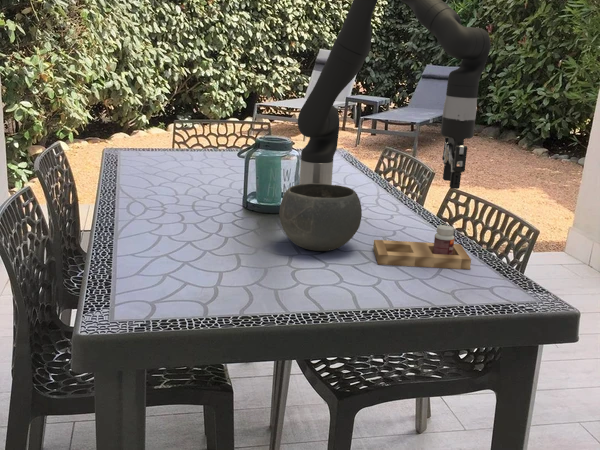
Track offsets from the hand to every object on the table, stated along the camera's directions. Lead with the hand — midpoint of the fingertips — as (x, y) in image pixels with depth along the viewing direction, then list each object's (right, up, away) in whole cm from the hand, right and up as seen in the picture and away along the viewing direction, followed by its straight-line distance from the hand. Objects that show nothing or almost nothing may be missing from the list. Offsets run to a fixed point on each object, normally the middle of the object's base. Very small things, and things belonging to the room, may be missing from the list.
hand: (450, 184), depth 165 cm
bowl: (-31, -16, +10) cm, 36 cm away
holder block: (-6, -18, +5) cm, 20 cm away
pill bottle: (-1, -19, +5) cm, 19 cm away
